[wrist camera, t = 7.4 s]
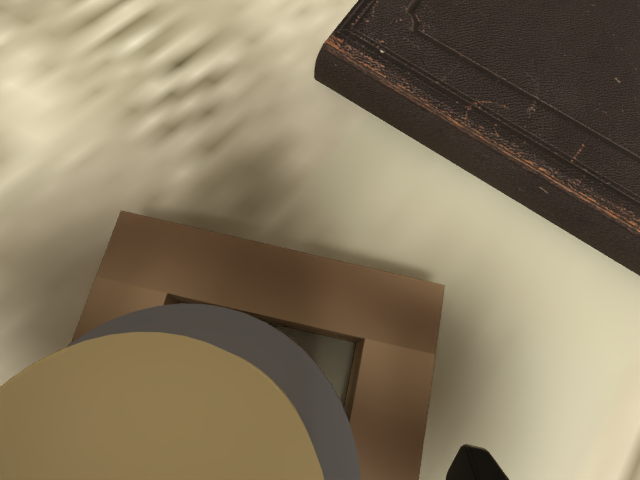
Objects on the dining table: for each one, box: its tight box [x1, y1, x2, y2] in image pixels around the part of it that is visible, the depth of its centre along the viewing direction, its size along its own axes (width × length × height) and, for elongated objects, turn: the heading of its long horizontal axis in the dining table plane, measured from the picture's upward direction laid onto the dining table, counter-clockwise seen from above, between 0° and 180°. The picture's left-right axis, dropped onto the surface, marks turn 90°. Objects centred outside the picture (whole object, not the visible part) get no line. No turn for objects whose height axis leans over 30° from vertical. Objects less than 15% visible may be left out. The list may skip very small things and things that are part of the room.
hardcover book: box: [314, 0, 640, 275], centre depth 22 cm, size 16×23×2 cm
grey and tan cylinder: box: [0, 304, 361, 480], centre depth 10 cm, size 5×5×13 cm
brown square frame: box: [71, 211, 445, 480], centre depth 16 cm, size 12×12×2 cm
